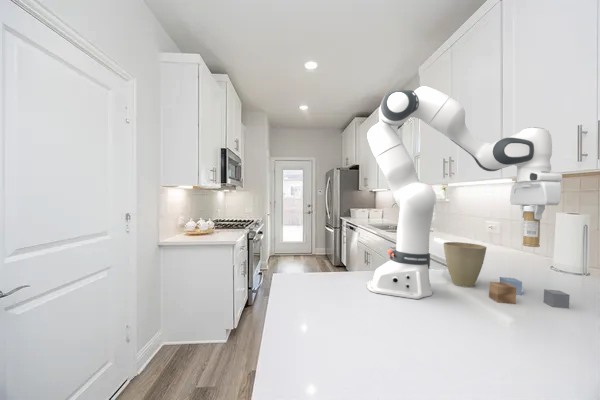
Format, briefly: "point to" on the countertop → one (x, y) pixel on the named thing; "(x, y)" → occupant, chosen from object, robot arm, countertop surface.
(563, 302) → the charcoal block
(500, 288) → the walnut block
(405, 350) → the countertop surface
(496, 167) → the robot arm
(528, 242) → the sprinkles bottle
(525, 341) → the countertop surface
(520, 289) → the slate blue block
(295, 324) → the countertop surface
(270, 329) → the countertop surface
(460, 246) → the plant pot
